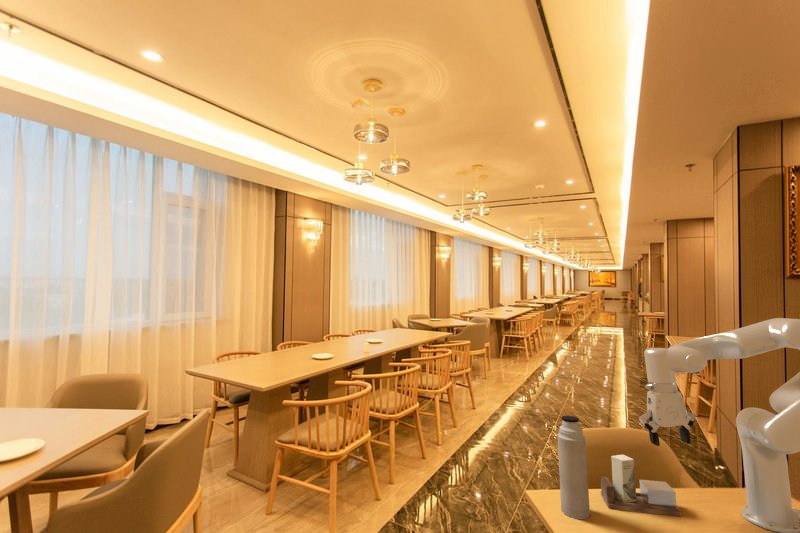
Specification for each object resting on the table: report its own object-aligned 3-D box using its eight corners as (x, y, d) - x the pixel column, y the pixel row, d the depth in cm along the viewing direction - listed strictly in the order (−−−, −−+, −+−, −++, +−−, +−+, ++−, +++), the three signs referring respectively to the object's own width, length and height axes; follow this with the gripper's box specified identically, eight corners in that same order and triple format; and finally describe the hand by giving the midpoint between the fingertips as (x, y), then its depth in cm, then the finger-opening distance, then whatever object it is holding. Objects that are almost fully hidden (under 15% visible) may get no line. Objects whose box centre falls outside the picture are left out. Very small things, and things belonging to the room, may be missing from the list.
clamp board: (667, 502, 119) (666, 481, 119) (680, 516, 111) (678, 494, 111) (600, 495, 123) (599, 475, 124) (608, 508, 115) (607, 487, 116)
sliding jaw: (666, 498, 118) (665, 481, 119) (676, 509, 112) (675, 491, 112) (640, 495, 120) (639, 479, 120) (648, 506, 114) (647, 488, 114)
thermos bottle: (585, 506, 117) (580, 414, 120) (593, 520, 109) (587, 421, 112) (558, 503, 118) (554, 412, 121) (564, 517, 110) (559, 420, 113)
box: (624, 504, 115) (621, 461, 117) (612, 497, 119) (610, 455, 121) (637, 501, 117) (634, 458, 118) (625, 494, 121) (622, 453, 122)
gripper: (643, 391, 115) (651, 449, 113) (698, 388, 115) (707, 446, 113) (628, 386, 122) (635, 441, 120) (680, 383, 122) (688, 437, 120)
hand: (670, 443), depth 117 cm, fingers open, 9 cm apart
